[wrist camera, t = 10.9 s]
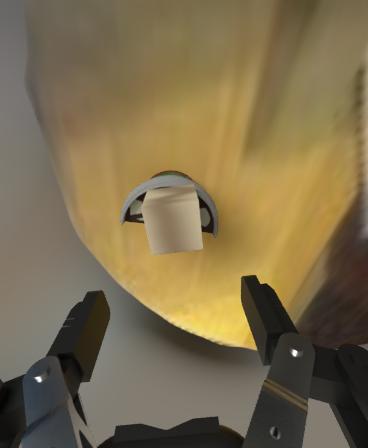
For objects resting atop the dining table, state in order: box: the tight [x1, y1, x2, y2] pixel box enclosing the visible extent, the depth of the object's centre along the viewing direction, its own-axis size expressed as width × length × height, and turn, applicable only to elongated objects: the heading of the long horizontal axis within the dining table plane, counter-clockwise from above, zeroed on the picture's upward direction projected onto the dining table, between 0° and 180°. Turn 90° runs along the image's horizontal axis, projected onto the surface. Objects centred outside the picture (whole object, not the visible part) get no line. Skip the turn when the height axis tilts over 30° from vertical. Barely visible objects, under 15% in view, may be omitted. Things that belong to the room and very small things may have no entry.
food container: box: [120, 171, 218, 238], centre depth 28 cm, size 12×6×10 cm, turn 80°
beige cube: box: [141, 184, 203, 255], centre depth 22 cm, size 5×5×5 cm
